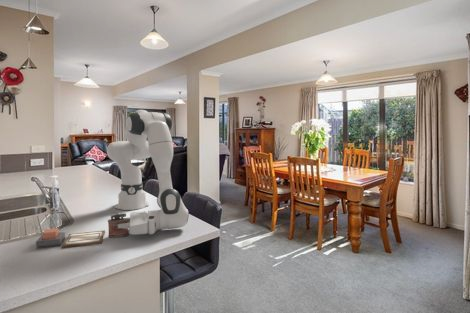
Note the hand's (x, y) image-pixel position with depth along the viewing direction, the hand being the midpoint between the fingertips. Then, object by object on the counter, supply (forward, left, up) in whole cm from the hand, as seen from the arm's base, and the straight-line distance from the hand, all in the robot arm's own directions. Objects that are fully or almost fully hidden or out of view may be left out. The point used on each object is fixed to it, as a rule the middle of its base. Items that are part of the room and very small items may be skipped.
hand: (118, 223), depth 121 cm
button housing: (0, -25, -6) cm, 26 cm away
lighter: (0, 0, -6) cm, 6 cm away
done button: (0, -25, -3) cm, 25 cm away
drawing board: (0, -13, -6) cm, 14 cm away
